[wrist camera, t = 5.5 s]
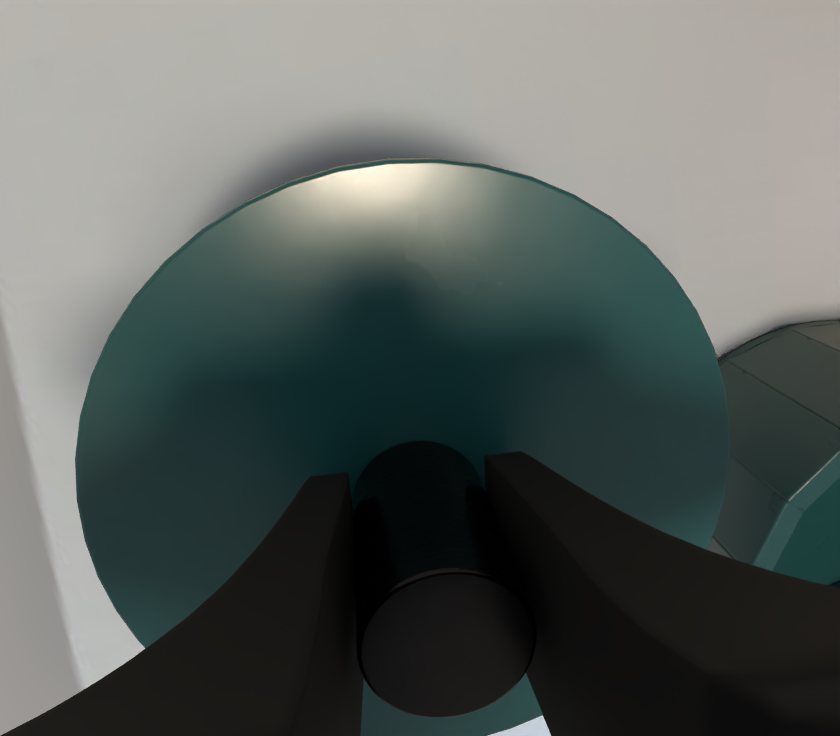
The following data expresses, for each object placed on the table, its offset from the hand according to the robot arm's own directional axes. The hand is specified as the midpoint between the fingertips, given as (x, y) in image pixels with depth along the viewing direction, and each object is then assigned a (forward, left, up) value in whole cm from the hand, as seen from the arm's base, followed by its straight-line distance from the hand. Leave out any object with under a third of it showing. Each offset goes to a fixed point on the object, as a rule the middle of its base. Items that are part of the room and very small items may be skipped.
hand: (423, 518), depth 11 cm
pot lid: (0, 0, -1) cm, 1 cm away
